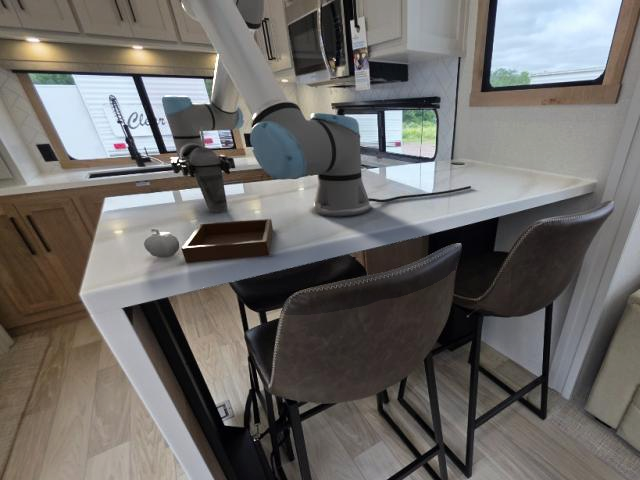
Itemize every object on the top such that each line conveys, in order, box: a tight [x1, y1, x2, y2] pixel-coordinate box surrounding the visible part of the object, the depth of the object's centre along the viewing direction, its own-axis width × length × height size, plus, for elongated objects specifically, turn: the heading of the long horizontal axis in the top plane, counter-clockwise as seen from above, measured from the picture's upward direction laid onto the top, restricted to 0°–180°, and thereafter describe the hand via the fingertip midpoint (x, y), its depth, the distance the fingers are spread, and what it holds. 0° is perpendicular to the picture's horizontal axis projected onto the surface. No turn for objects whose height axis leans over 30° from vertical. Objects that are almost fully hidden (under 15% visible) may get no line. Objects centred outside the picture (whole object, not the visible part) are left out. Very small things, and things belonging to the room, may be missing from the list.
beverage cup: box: [189, 127, 229, 213], centre depth 84 cm, size 7×7×20 cm
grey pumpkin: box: [143, 228, 180, 259], centre depth 63 cm, size 6×5×5 cm
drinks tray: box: [180, 218, 274, 264], centre depth 68 cm, size 15×15×3 cm
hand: (209, 169), depth 81 cm, fingers closed on beverage cup, 7 cm apart
